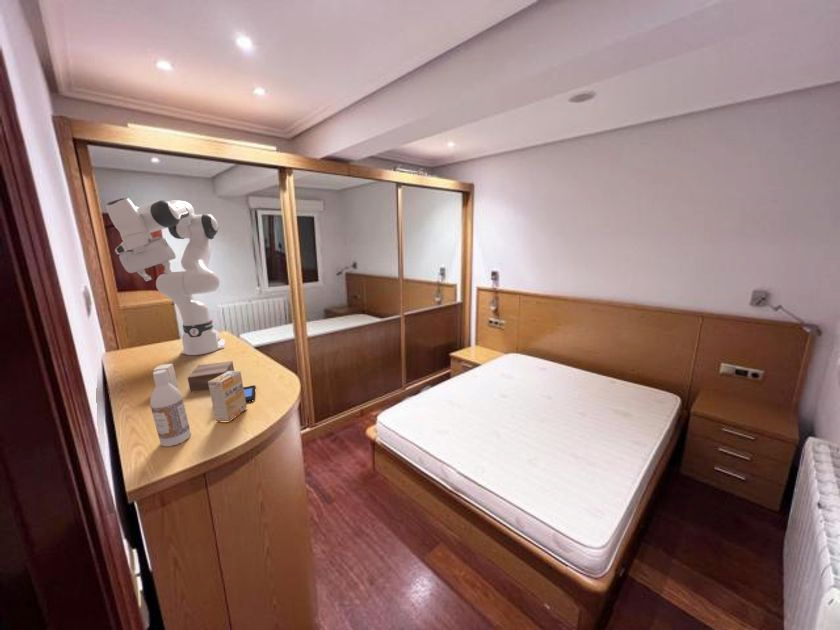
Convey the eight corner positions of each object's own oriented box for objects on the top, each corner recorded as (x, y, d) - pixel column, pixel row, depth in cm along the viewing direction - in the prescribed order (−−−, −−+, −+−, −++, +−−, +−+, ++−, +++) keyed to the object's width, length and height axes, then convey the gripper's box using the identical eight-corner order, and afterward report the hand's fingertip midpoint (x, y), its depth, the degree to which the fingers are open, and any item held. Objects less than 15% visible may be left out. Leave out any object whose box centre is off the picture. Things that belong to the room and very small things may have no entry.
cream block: (164, 387, 129) (158, 365, 127) (178, 385, 130) (172, 363, 128) (159, 393, 125) (153, 369, 123) (173, 391, 126) (167, 367, 124)
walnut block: (201, 379, 135) (198, 365, 134) (235, 375, 138) (232, 360, 137) (190, 393, 124) (187, 377, 122) (227, 387, 127) (224, 372, 126)
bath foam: (154, 446, 92) (135, 377, 87) (175, 431, 99) (159, 366, 94) (176, 448, 91) (159, 377, 86) (197, 433, 97) (181, 366, 93)
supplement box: (229, 423, 102) (221, 382, 99) (215, 422, 103) (206, 381, 100) (248, 409, 110) (241, 370, 106) (235, 408, 110) (227, 370, 107)
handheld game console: (255, 402, 114) (251, 381, 113) (218, 410, 110) (213, 388, 109) (256, 387, 126) (252, 368, 124) (222, 394, 122) (218, 374, 120)
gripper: (169, 233, 132) (186, 268, 136) (125, 248, 135) (144, 282, 139) (155, 235, 126) (174, 271, 130) (110, 251, 129) (131, 286, 133)
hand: (158, 277), depth 135 cm, fingers open, 8 cm apart
